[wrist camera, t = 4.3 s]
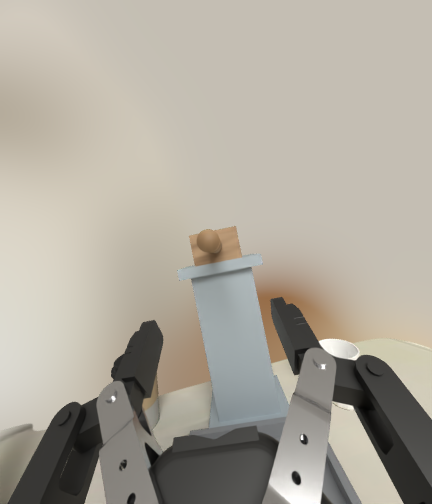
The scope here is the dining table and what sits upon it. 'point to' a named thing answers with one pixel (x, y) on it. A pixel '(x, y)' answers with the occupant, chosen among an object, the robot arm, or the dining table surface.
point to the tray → (334, 475)
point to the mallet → (215, 246)
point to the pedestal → (235, 343)
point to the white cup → (341, 356)
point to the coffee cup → (148, 403)
